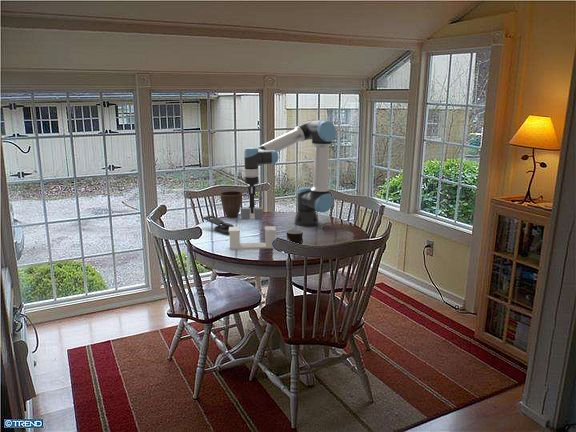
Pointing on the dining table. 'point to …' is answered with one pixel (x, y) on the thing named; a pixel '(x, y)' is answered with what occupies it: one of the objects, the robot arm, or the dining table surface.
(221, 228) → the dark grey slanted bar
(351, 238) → the dining table surface
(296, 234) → the coffee mug
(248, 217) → the grey rectangular block
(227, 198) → the plant pot
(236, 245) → the white u-shaped cradle
